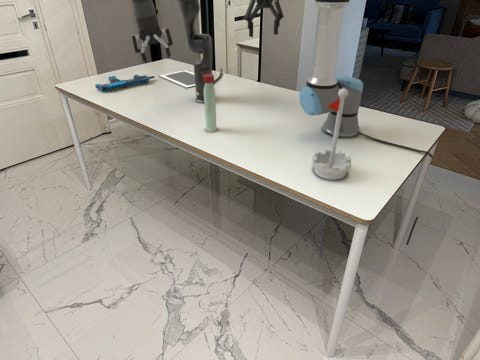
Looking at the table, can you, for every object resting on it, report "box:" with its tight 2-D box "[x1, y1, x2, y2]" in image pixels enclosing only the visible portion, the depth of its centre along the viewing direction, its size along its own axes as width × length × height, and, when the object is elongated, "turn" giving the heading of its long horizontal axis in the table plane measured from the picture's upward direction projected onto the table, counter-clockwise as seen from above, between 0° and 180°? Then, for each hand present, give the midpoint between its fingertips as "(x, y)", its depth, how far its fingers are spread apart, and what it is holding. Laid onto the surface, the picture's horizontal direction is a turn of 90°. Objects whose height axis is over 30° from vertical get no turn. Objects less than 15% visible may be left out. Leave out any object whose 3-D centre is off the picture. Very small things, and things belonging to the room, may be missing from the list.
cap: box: [203, 73, 215, 84], centre depth 139 cm, size 4×4×2 cm
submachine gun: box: [94, 74, 155, 92], centre depth 206 cm, size 34×4×25 cm
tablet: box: [159, 69, 195, 89], centre depth 215 cm, size 32×20×1 cm, turn 41°
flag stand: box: [312, 88, 352, 181], centre depth 113 cm, size 13×13×30 cm
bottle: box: [203, 83, 218, 133], centre depth 145 cm, size 5×5×24 cm
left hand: (157, 60), depth 130 cm, fingers open, 8 cm apart
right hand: (263, 35), depth 165 cm, fingers open, 13 cm apart
